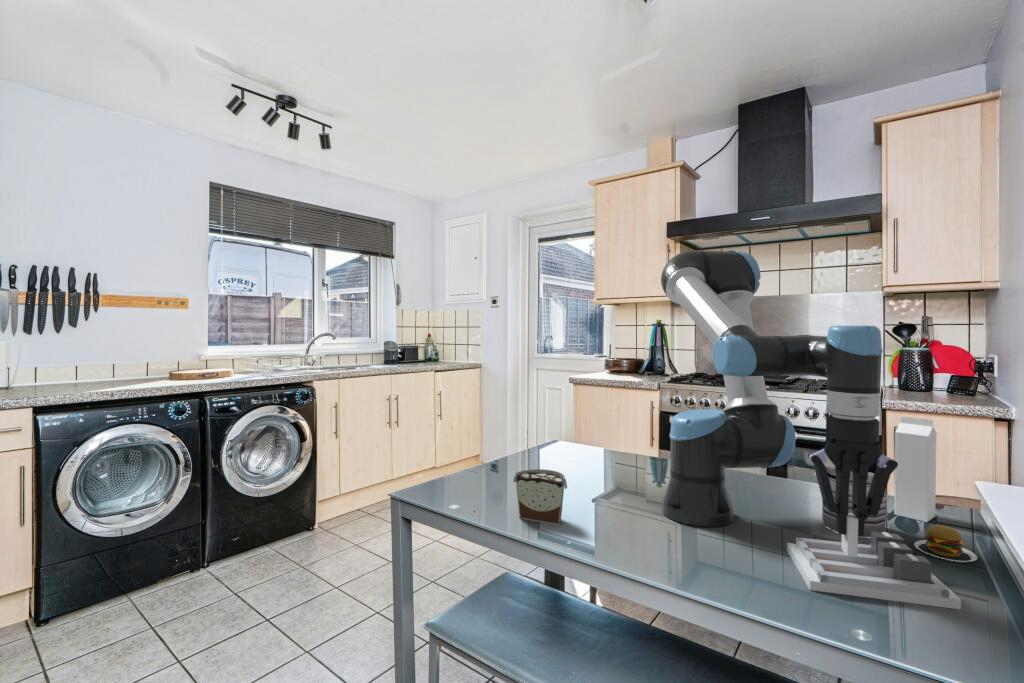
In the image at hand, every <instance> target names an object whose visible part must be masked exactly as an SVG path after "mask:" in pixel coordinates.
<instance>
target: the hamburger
mask: <svg viewBox="0 0 1024 683" xmlns="http://www.w3.org/2000/svg"><path fill="white" fill-rule="evenodd" d="M962 540H963V537H962V535H961V533H960V532H959V531H958V530H956V529H954V528H952V527H950V526H947V525H942V524H936V525H932V526H930V527H929V528H928V529H927V531H926V532H925V539H923V540H917V541H915V542H914V544H913V545H914V547H915V549H916V550H919V551H921V552H922V553H924V554H926V555H928V554H929V555H928V556H930V555H931V557H933V556H934V558H936V557H937V559H939V558H941V559H940V560H943V559H945V560H944V561H948V560H949V561H950V562H954V561H955V562H956V563H968V562H969V563H970V562H974V561H975V562H976V561H977V559H978V557H977V555H976V554H975V553H974V552H972V551H971V550H969V549H967V548H965V547H964V545H965V544H964V542H963V541H962ZM920 544H926V547H927V549H928V550H929V552H931V551H932V552H931V553H933V554H931V553H929V552H927V551H924V550H923V549H921V547H920V548H919V547H918V545H920ZM935 553H936V555H934V554H935ZM962 553H963V554H966V555H967V556H968V557H969V558H970V559H969V560H958V559H957V560H956V559H950V558H958V557H960V556H961V555H962ZM938 554H939V556H937V555H938ZM941 555H942V557H940V556H941ZM946 556H947V558H944V557H946ZM955 562H954V563H955Z"/></svg>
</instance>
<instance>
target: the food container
mask: <svg viewBox="0 0 1024 683" xmlns="http://www.w3.org/2000/svg"><path fill="white" fill-rule="evenodd" d="M513 483H515V484H516V485H515V486H516V495H517V496H516V497H517V507H518V515H519V520H526V521H533V522H538V523H545V524H550V525H556V526H560V525H561V522H562V514H563V513H562V511H563V502H564V495H565V494H564V492H565V490H567V489H568V482H567V479H566V477H565V475H564V473H562V472H559V471H556V470H551V469H542V468H541V469H540V468H539V469H537V468H535V469H526V470H519V471H518V472H515V474H514V476H513Z"/></svg>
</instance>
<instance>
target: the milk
mask: <svg viewBox="0 0 1024 683" xmlns="http://www.w3.org/2000/svg"><path fill="white" fill-rule="evenodd" d="M894 438H895V439H894V440H895V443H894V444H895V445H894V461H896V462H897V463H898V466H897V467H896V469H895V470H894V502H893V503H894V510H893V512H894V515H896V516H901V517H904V518H908V519H912V520H916V521H921V522H924V523H928V522H930V521H931V520H932V519H933V518H935V517H936V492H937V490H936V486H937V478H936V477H937V431H936V429H935V428H934V422H933V419H925V418H919V417H918V418H917V417H908V416H900V417H899V424H898V426H897V428H896V430H895V437H894Z"/></svg>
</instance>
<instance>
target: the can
mask: <svg viewBox="0 0 1024 683" xmlns="http://www.w3.org/2000/svg"><path fill="white" fill-rule="evenodd" d="M825 467H826V470H827V473H828V477H829V481H830V485H831V489H832V493H833V497H834V501H835V491H836V472H835V465H833V464H832V465H830V464H827V465H825ZM874 473H875V472H874ZM874 473H873V472H869V471H868V478H867V488H866V499H867V495H868V492H869V489H870V486H871V483H872V479H873V476H874ZM852 490H853V474H852V471H851V473H850V478H849V505H848V513H852V514H853V511H852ZM821 508H822V509H821V511H822V512H821V514H822V517H821V521H823V522H822V526H823V527H824V526H825V527H824V528H826V527H828V528H830V529H831V530H830V529H829V530H830V531H832V530H834V531H835V532H834V531H833V532H834V533H836V532H838V531H837V530H836V513H834V512H830V511H829V510H828V509H827V508H826V507H825V506H824V504H823V500H822V506H821ZM867 517H868V518H867V519H866V520H865V522H864V535H863V536H858V537H871V532H880V533H882V532H886V530H887V528H886V525H887V524H886V523H887V522H886V521H887V489H886V490H885V493H884V497H883V500H882V503H881V506H880V509H879V513H878V515H876V516H873V515H870V516H867ZM828 528H827V529H828Z"/></svg>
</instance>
